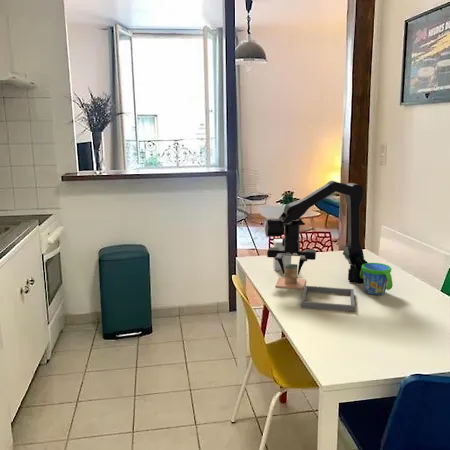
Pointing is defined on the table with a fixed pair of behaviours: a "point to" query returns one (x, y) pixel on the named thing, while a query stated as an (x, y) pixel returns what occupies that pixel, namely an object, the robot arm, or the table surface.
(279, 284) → the tile
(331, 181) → the robot arm
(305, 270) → the table surface
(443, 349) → the table surface
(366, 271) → the snack cup
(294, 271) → the oak block
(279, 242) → the supplement box
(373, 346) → the table surface
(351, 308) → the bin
